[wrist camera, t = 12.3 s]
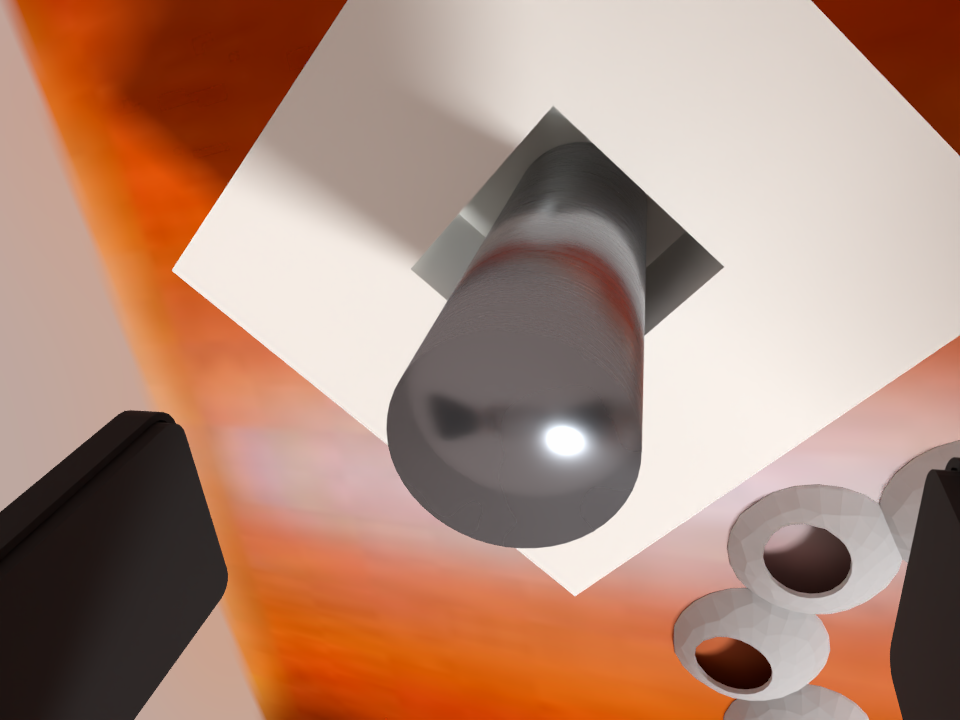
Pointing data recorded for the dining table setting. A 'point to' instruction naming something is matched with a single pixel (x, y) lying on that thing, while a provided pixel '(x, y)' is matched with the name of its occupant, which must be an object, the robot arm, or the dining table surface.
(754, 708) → the round palette
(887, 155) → the socket block
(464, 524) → the pin
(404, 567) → the dining table surface
